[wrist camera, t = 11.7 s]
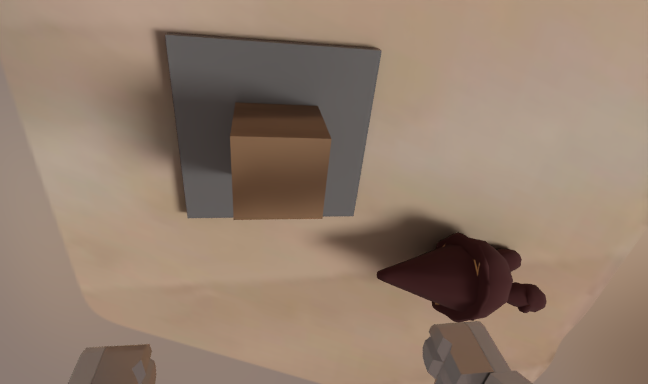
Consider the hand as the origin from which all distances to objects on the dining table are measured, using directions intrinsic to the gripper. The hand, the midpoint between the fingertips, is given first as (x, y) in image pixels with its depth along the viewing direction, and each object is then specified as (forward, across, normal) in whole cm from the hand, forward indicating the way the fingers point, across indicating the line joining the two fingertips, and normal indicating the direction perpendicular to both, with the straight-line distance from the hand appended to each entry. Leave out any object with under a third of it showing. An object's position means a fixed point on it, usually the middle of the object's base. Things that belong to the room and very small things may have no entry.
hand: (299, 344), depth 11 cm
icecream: (+16, -15, +11) cm, 24 cm away
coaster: (+16, 0, +1) cm, 16 cm away
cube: (+15, 0, +1) cm, 15 cm away
